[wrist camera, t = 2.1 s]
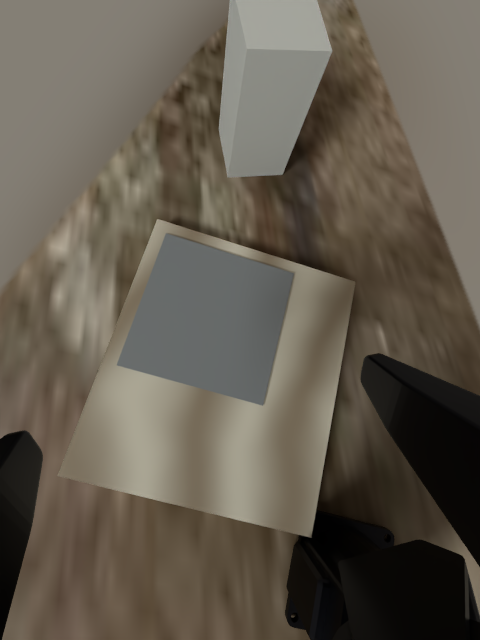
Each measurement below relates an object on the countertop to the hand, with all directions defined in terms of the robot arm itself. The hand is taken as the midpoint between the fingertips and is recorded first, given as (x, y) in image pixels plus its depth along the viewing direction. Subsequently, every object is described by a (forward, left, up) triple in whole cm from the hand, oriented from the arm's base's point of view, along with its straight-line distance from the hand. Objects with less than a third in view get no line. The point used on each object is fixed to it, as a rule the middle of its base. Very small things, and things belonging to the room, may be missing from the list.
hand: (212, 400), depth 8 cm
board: (-1, -2, -14) cm, 14 cm away
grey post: (+2, -21, -14) cm, 25 cm away
